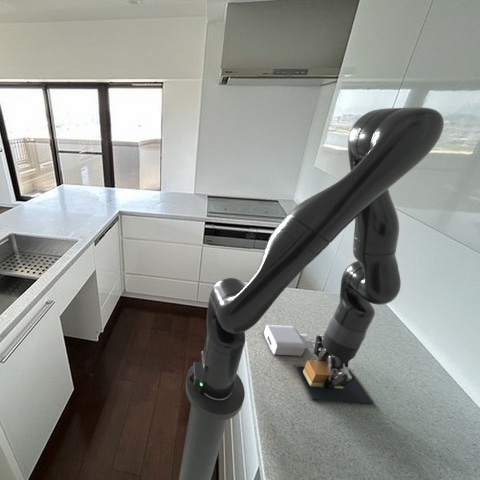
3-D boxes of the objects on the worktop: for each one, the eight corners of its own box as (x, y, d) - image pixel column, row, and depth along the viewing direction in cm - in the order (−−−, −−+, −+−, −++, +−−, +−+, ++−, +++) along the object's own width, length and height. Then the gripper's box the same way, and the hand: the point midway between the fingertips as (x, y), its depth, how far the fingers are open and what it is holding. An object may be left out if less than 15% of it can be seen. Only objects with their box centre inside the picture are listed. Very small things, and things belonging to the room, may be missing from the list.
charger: (320, 358, 81) (273, 355, 81) (305, 335, 90) (263, 333, 89) (325, 347, 79) (277, 345, 79) (309, 325, 87) (266, 323, 87)
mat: (312, 400, 69) (313, 398, 68) (296, 367, 78) (296, 366, 77) (372, 404, 68) (373, 403, 68) (349, 371, 77) (349, 370, 77)
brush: (310, 386, 70) (315, 374, 68) (302, 371, 75) (307, 359, 72) (342, 388, 70) (349, 376, 68) (333, 373, 74) (339, 362, 72)
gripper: (314, 314, 71) (297, 357, 79) (346, 357, 59) (322, 404, 66) (341, 316, 71) (322, 358, 79) (379, 360, 58) (351, 406, 66)
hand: (322, 379), depth 72 cm, fingers closed on brush, 4 cm apart
